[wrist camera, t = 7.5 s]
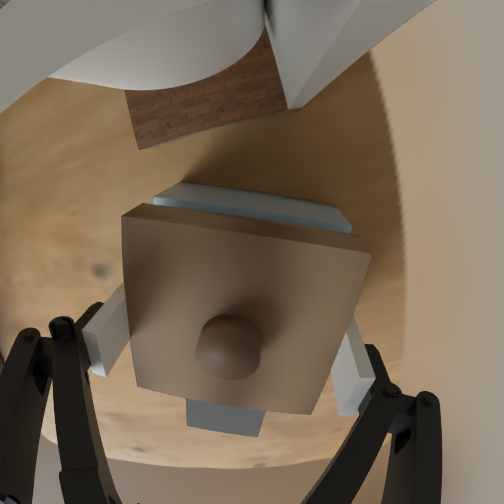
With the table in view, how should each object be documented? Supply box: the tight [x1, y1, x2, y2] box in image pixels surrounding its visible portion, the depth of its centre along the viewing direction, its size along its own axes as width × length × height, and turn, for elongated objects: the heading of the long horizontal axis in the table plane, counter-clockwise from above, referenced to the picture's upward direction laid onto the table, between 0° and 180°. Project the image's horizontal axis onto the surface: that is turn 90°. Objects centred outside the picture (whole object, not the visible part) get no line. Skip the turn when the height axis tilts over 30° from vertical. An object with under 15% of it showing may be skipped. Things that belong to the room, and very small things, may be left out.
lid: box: [121, 203, 372, 415], centre depth 15 cm, size 11×11×4 cm
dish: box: [153, 182, 352, 234], centre depth 20 cm, size 11×11×5 cm
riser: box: [186, 398, 266, 437], centre depth 26 cm, size 7×7×4 cm
